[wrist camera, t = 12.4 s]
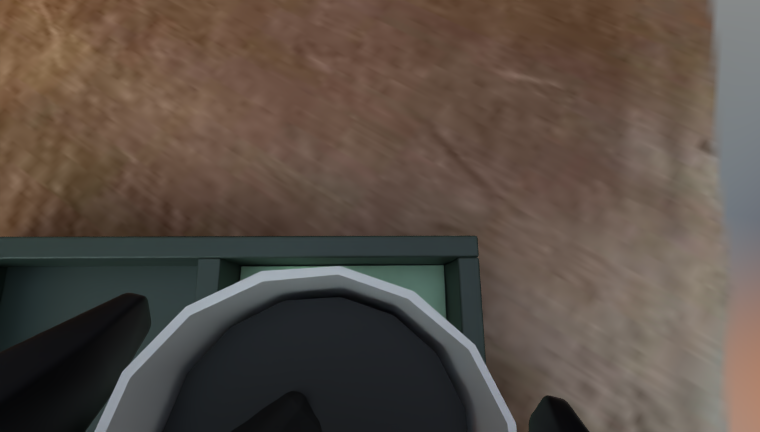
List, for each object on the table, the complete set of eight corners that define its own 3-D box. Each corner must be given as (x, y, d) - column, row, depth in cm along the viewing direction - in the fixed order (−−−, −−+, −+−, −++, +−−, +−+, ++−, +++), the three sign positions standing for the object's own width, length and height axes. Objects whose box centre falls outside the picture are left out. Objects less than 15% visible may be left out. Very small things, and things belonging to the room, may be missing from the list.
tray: (473, 507, 15) (499, 553, 13) (-55, 525, 15) (-159, 578, 12) (459, 247, 18) (478, 235, 15) (2, 249, 17) (-73, 236, 14)
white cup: (321, 515, 15) (238, 927, 5) (220, 362, 16) (-14, 448, 6) (460, 393, 16) (619, 529, 6) (357, 258, 17) (352, 187, 7)
